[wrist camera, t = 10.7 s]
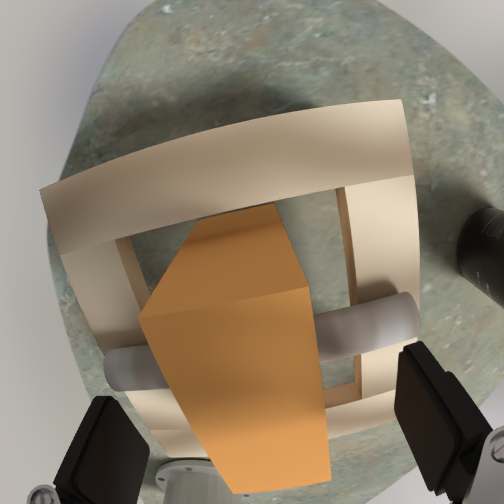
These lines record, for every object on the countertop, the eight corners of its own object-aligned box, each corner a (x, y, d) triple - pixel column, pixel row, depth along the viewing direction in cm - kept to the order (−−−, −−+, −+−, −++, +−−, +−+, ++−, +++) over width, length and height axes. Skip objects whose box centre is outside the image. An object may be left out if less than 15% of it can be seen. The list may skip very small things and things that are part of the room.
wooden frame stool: (366, 337, 24) (418, 439, 13) (188, 372, 25) (164, 481, 14) (338, 117, 18) (427, 92, 8) (117, 170, 19) (10, 198, 9)
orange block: (300, 343, 19) (331, 480, 10) (238, 355, 19) (233, 493, 10) (273, 203, 16) (308, 286, 7) (199, 219, 16) (137, 318, 7)
